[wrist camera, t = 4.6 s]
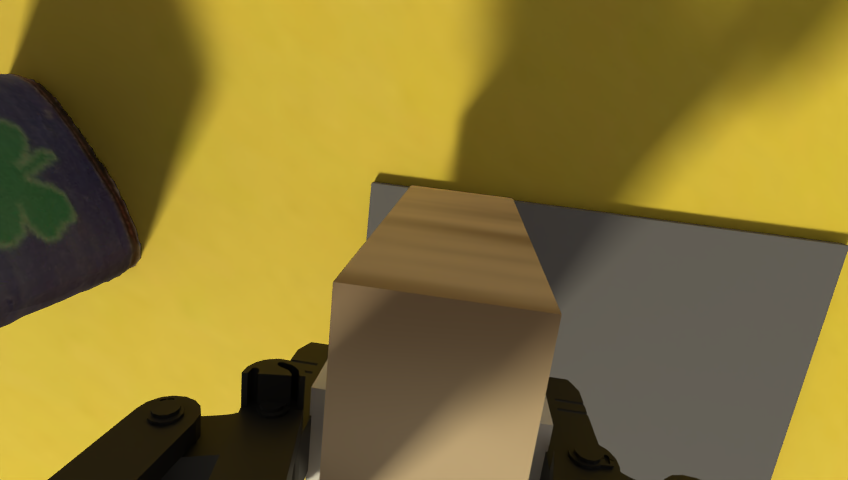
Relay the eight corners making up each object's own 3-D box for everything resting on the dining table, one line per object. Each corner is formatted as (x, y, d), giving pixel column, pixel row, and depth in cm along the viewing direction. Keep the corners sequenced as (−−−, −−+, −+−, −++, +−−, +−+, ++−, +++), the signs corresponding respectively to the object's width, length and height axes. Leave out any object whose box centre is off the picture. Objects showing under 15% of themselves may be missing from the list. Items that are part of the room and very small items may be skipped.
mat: (373, 181, 20) (371, 183, 20) (841, 243, 19) (849, 246, 19) (336, 591, 26) (334, 599, 25) (701, 664, 24) (705, 672, 24)
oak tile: (410, 185, 17) (329, 281, 8) (512, 198, 17) (561, 314, 8) (385, 411, 20) (301, 699, 10) (475, 425, 20) (476, 734, 10)
